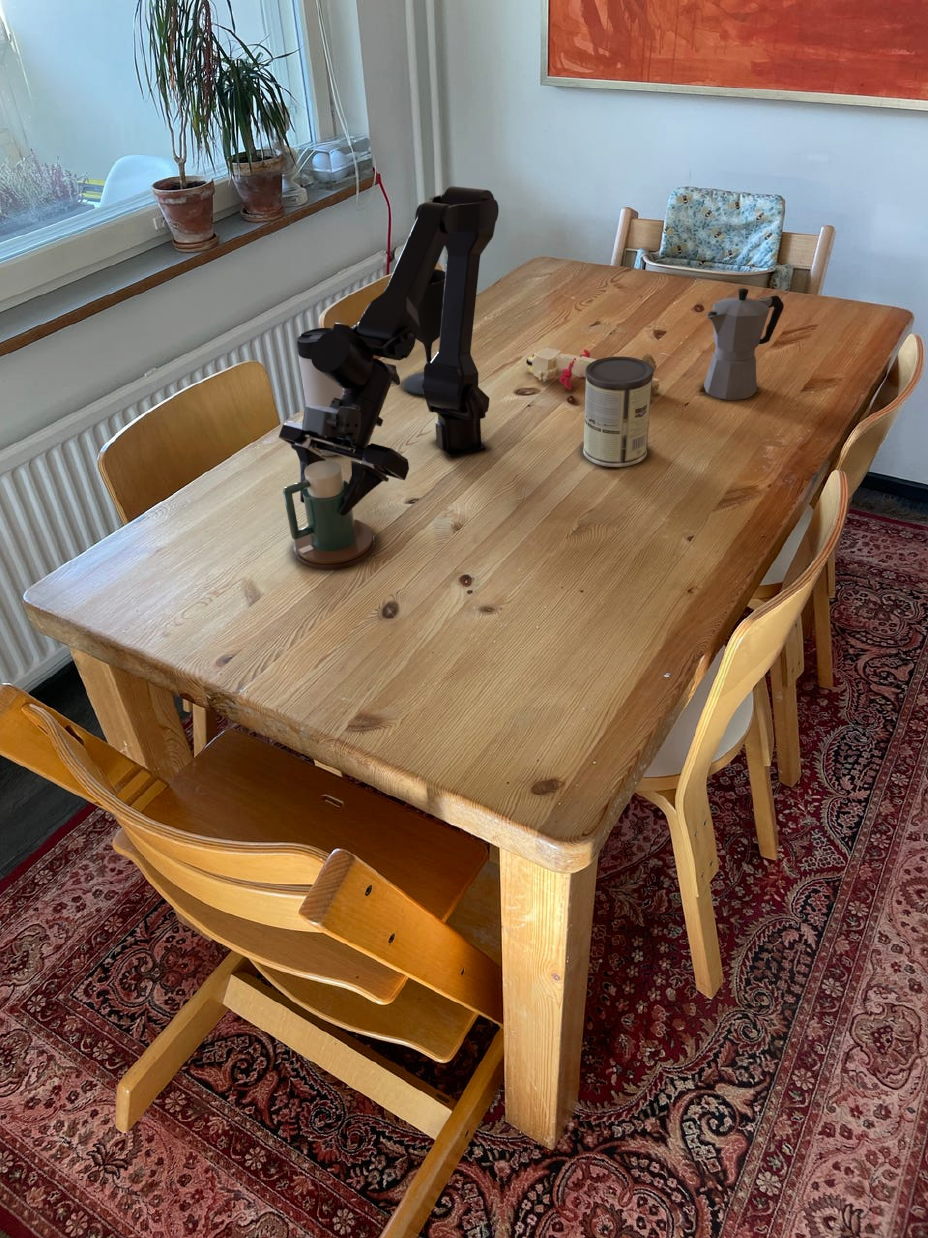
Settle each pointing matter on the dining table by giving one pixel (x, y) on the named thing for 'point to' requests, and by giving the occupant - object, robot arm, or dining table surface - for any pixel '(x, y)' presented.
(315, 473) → the green cylinder with handle
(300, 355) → the travel mug
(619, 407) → the coffee can
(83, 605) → the dining table surface
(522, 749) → the dining table surface
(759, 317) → the coffeepot
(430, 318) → the wine glass
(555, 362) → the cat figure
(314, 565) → the turntable
